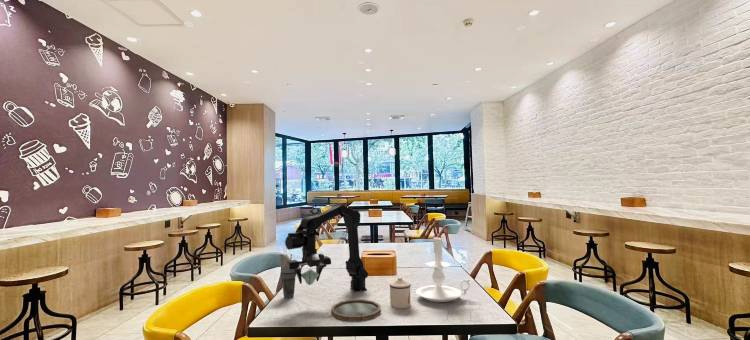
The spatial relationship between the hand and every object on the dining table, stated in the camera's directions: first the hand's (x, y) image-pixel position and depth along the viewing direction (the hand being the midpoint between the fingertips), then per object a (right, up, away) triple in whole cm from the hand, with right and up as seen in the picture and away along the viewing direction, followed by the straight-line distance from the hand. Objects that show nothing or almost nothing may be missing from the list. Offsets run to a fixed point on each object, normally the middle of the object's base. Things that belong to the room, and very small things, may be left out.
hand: (309, 282), depth 146 cm
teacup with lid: (+40, -9, -1) cm, 41 cm away
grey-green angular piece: (0, -1, 0) cm, 1 cm away
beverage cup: (-12, -10, +10) cm, 19 cm away
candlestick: (+60, -9, +5) cm, 61 cm away
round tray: (+21, -9, -9) cm, 25 cm away
